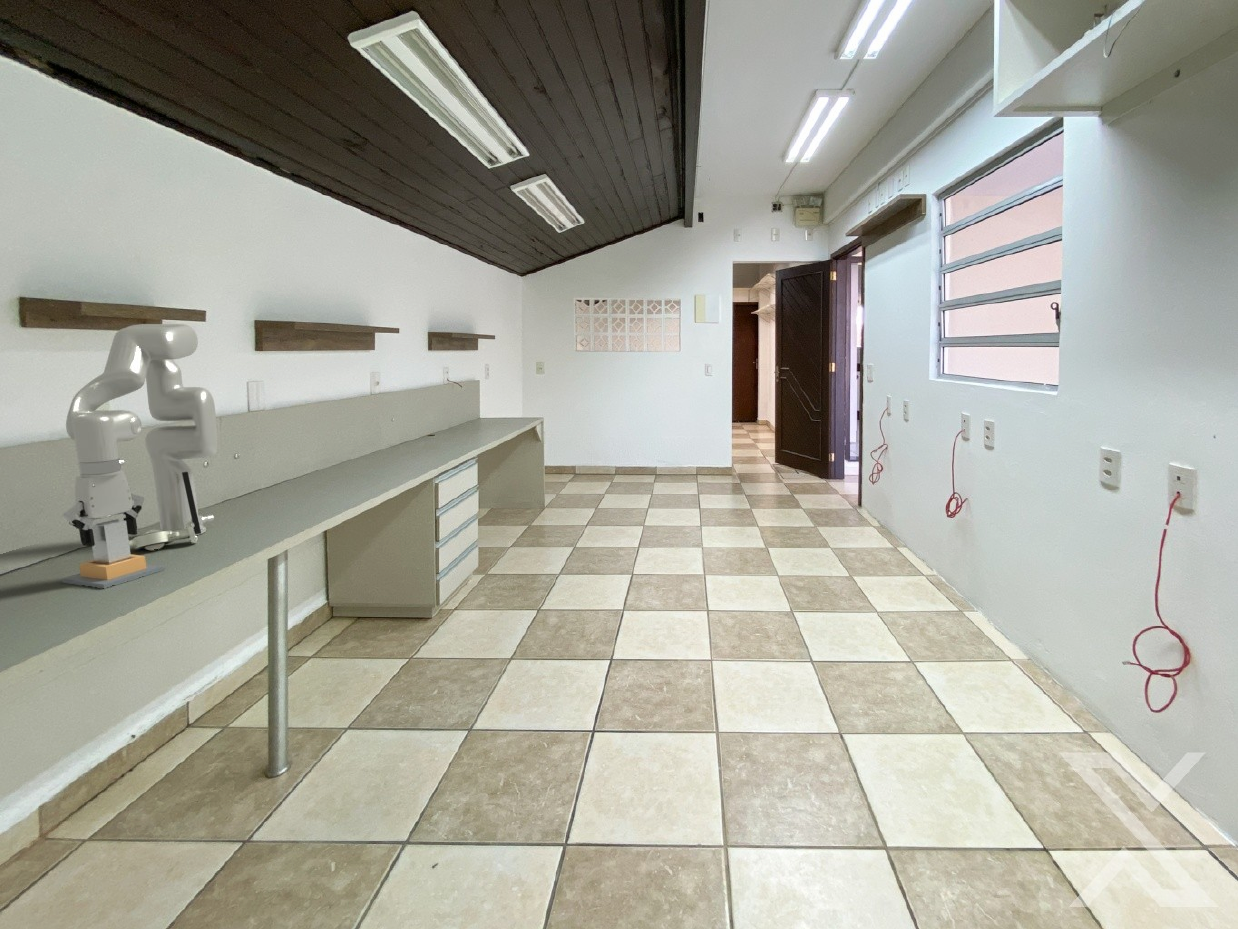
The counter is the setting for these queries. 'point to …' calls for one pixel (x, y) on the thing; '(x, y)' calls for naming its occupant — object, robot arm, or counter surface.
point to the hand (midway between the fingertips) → (110, 539)
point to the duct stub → (110, 542)
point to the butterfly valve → (161, 538)
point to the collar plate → (112, 572)
